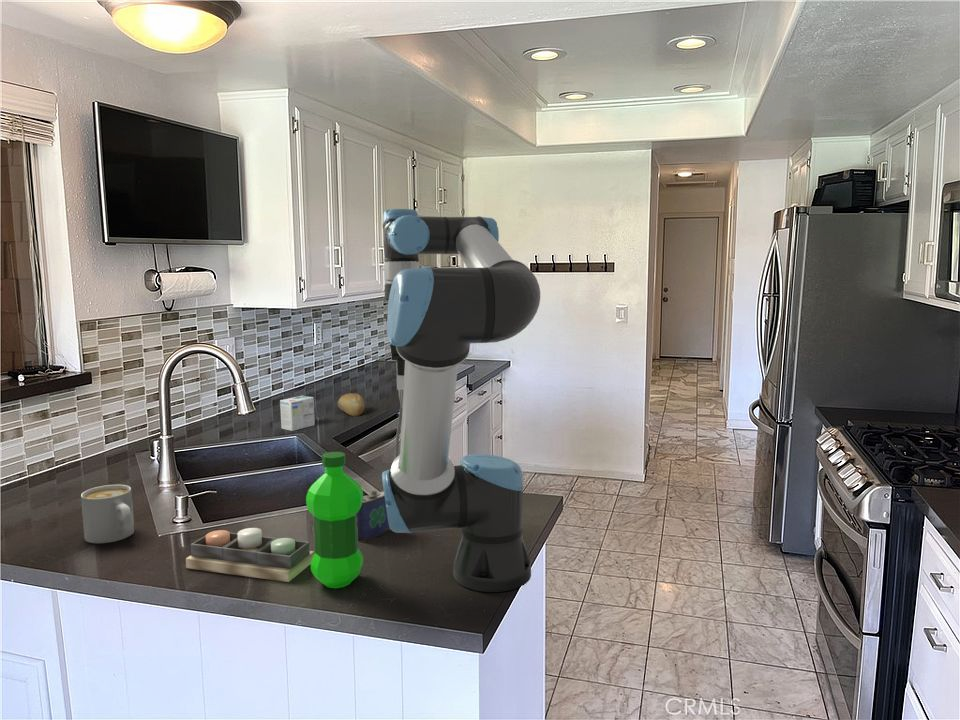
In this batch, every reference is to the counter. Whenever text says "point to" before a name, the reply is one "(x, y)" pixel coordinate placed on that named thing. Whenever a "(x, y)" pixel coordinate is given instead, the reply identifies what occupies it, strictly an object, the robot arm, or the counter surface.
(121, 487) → the coffee mug
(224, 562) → the button panel
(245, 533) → the white button
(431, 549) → the counter surface
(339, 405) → the potato
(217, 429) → the counter surface
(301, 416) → the light bulb box
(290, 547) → the sage button
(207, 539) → the terracotta button
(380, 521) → the flask
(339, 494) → the plastic bottle
